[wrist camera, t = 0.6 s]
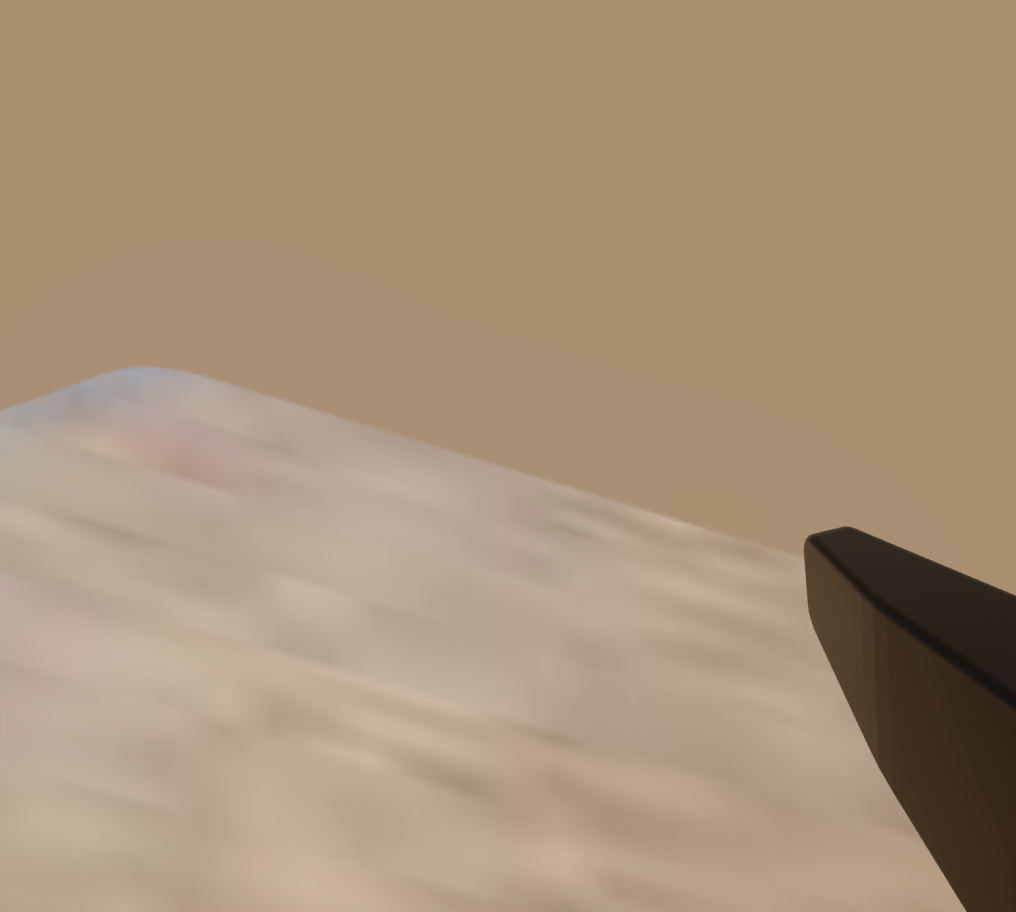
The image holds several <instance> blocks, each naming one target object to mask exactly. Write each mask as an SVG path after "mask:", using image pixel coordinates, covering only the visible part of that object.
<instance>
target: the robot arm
mask: <svg viewBox="0 0 1016 912" xmlns="http://www.w3.org/2000/svg"><path fill="white" fill-rule="evenodd" d="M804 560H805V573H806V586H807V599H808V609H809V614H810V618H811V621H812V624H813V627H814V630H815V632H816V634H817V636H818V639H819V641H820V643H821V645H822V647H823V649H824V652H825V654H826V656H827V658H828V660H829V662H830V665H831V667H832V669H833V671H834V673H835V675H836V677H837V680H838V682H839V684H840V686H841V688H842V690H843V693H844V695H845V697H846V699H847V701H848V703H849V706H850V708H851V710H852V712H853V714H854V716H855V718H856V721H857V723H858V725H859V727H860V729H861V731H862V734H863V736H864V738H865V740H866V742H867V744H868V746H869V748H870V751H871V753H872V755H873V757H874V759H875V761H876V763H877V765H878V767H879V769H880V770H881V772H882V774H883V776H884V777H885V779H886V781H887V783H888V784H889V786H890V788H891V790H892V791H893V793H894V794H895V796H896V798H897V799H898V801H899V803H900V804H901V806H902V808H903V809H904V811H905V812H906V814H907V816H908V817H909V819H910V821H911V822H912V824H913V825H914V827H915V829H916V830H917V832H918V834H919V835H920V837H921V838H922V840H923V842H924V843H925V845H926V847H927V848H928V850H929V851H930V853H931V855H932V856H933V858H934V860H935V861H936V863H937V864H938V866H939V868H940V869H941V871H942V873H943V874H944V876H945V877H946V879H947V881H948V882H949V884H950V886H951V887H952V889H953V891H954V892H955V894H956V895H957V897H958V899H959V900H960V902H961V904H962V905H963V907H964V908H965V910H966V912H1016V596H1015V595H1013V594H1011V593H1008V592H1006V591H1003V590H1001V589H999V588H996V587H994V586H992V585H989V584H987V583H984V582H982V581H980V580H977V579H975V578H972V577H970V576H967V575H965V574H963V573H960V572H958V571H956V570H953V569H950V568H948V567H946V566H944V565H941V564H939V563H937V562H934V561H932V560H929V559H927V558H925V557H922V556H920V555H917V554H915V553H913V552H910V551H908V550H905V549H903V548H901V547H898V546H896V545H893V544H891V543H889V542H886V541H884V540H882V539H879V538H877V537H874V536H872V535H870V534H867V533H865V532H862V531H860V530H858V529H855V528H852V527H840V528H836V529H832V530H828V531H823V532H819V533H815V534H812V535H810V536H809V537H808V538H807V539H806V540H805V544H804Z"/></svg>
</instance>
